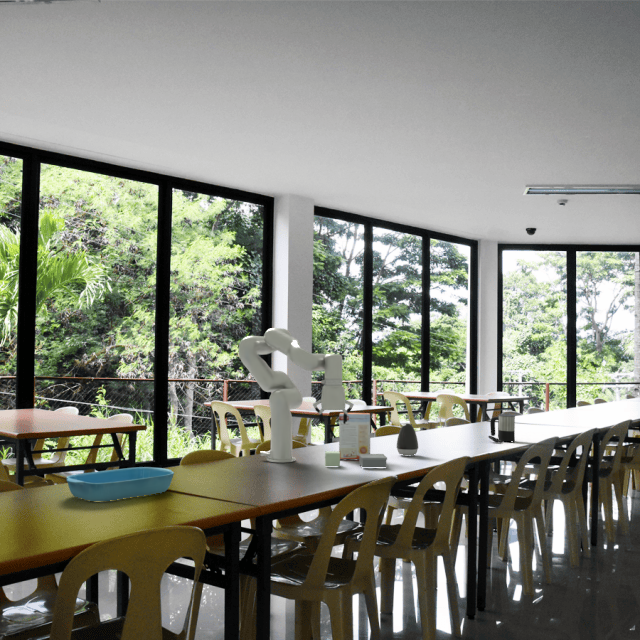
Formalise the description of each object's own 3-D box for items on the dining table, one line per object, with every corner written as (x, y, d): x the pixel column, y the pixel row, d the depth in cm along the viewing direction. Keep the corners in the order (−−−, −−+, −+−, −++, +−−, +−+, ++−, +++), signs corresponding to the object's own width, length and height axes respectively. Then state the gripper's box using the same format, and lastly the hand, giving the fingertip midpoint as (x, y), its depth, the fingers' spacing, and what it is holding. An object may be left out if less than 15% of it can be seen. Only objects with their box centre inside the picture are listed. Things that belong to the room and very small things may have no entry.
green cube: (325, 467, 286) (325, 453, 287) (325, 465, 292) (325, 451, 293) (339, 467, 286) (339, 453, 287) (339, 465, 292) (339, 451, 293)
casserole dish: (148, 483, 249) (149, 463, 249) (186, 491, 234) (187, 470, 234) (52, 498, 222) (52, 476, 222) (87, 509, 207) (88, 485, 207)
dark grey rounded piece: (421, 455, 325) (421, 423, 325) (413, 458, 315) (414, 424, 316) (401, 453, 329) (401, 421, 330) (393, 456, 320) (393, 423, 321)
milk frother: (515, 441, 383) (515, 414, 384) (514, 444, 368) (514, 416, 369) (489, 439, 388) (489, 413, 388) (487, 443, 373) (487, 415, 373)
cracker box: (370, 459, 311) (370, 412, 312) (370, 461, 305) (370, 413, 306) (339, 458, 312) (340, 412, 313) (338, 460, 306) (339, 413, 307)
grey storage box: (361, 469, 283) (361, 457, 283) (358, 465, 294) (358, 453, 294) (387, 469, 284) (387, 457, 284) (383, 465, 294) (383, 453, 295)
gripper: (313, 383, 287) (312, 424, 286) (354, 383, 288) (354, 424, 287) (312, 382, 295) (312, 422, 294) (352, 382, 295) (352, 422, 294)
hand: (333, 423), depth 290 cm, fingers open, 9 cm apart
